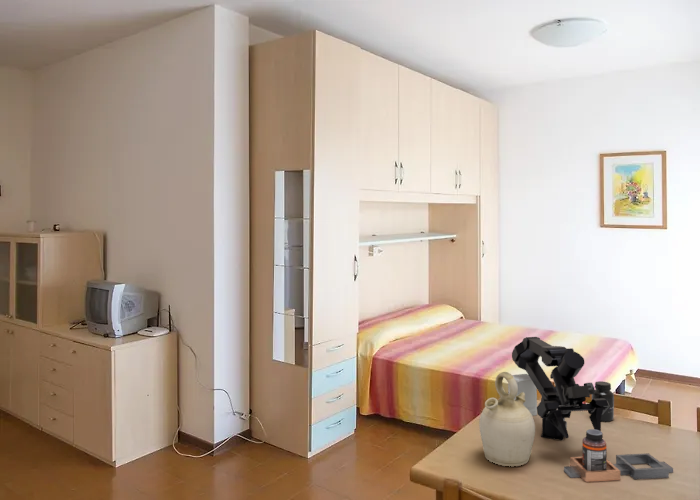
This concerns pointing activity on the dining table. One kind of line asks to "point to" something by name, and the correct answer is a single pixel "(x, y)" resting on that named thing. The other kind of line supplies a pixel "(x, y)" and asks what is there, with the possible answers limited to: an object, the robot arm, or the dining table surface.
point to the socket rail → (620, 468)
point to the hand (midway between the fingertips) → (583, 437)
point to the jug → (507, 426)
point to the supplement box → (526, 391)
